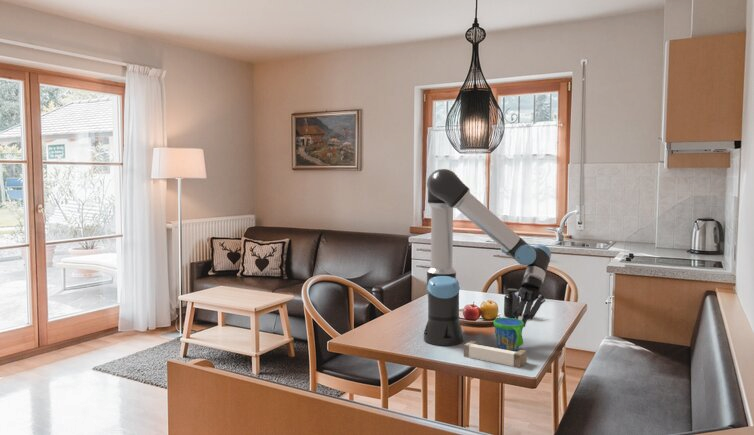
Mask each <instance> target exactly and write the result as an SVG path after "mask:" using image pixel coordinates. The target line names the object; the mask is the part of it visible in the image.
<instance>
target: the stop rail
mask: <svg viewBox="0 0 754 435" xmlns="http://www.w3.org/2000/svg"><path fill="white" fill-rule="evenodd" d="M463 357H466V358H471V359H475V360H479V359H480V360H481V361H484V360H485V362H488V363H489V362H490V363H495V364H500V365H505V366H510V367H515V368H519V369H520V368H521V367H523V366H524V365H525V364H526V363H527V350H525V349H518V350H517V351H509V350H504V349H499V348H498V347H492V346H486V345H480V344H477V341H476V340H475V341H474V340H470V341H468V342H466V343H464V344H463ZM480 360H479V361H480Z"/></svg>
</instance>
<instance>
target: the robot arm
mask: <svg viewBox="0 0 754 435" xmlns="http://www.w3.org/2000/svg"><path fill="white" fill-rule="evenodd" d="M426 186H427V204H428V206H430V207H431V213H430V214H431V220H430V221H431V224H430V226H431V227H430V230H431V231H430V232H431V233H430V236H431V237H430V267H429V268H428V269H427V270H426V285H425V292H426V295H427V317H428V318H427V322H426V326H425V328H424V331H423V341H424V342H426V343H428V344H430V345H431V344H432V345H437V346H456V345H459V344H461V343H463V342H464V340H465V339H464V331H463V329H462V328H463V327H462V326H461V322H460V288H461V287H460V283H459V280H458V279H457V270H456V269H454V268H453V251H454V250H453V247H454V246H453V244H454V242H453V241H454V239H453V238H454V236H453V235H454V234H453V232H454V209H457V210H458V211H460V213H461V214H463V215H464V216H465V217H466V218H467V219H468V220H469V221H471V223H473V224H474V225H475V226H476V227H478V228H479V230H481V231H482V232H483V233H484V234H485V235H486V236H487V237H489V238H490V239H491V240H492V241H493V242H495V243H496V244H497V245H498V246H499V247H500V251H501V252H502V253H503V254H505V255H506V256H508V257H511V258H512V259H513V260H515V261H516V263H517V264H519V265H522V266H526V269H525V272H524V274H523V278H522V281H521V285H520V288H519V289H517V290H518V292H516V293H514V292H512V293H511V294H512V296H513V305H512V313H513V316H514V317H516V318H515V319H519V320H521V321H523V322H524V327H523V328H526V324H527V322H528V320H531V321H532V320H533V319H534V317H535V316H536V314H537V312H538V311H539V309H540V307H541V306H542V304H544V303H545V302H546V298H545V296H544V295H542V294H541V291H542V287H543V283H544V281H545V278H546V273H547V270H548V268H549V264H550V262H551V258H552V257H551V256H552V251H551V250H550V248H549V247H548V246H546V245H543V244H535V245H534V246H532V245H530V244H529V243H528V242H526V241H525V240H524V239H523V238H521V236H520V235H518V234H517V233H516V232H515V231H514V230H513V229H511V228H510V226H508V225H507V224H506V223H505V222H504V221H503V220H501V219H500V218H499V217H498V216H497V215H496V214H494V212H492V211H491V209H489V208H487V206H485V205H484V203H482V202H481V201H480V200H478V198H477V197H475V196H474V195H473V194H472V193H471V189H470V188H469V187H468V186H467V185H466V184H465V183H464V182H463V181H462V180H461V179H460V177H458V175H457V174H456V173H455V172H454V171H452V170H450V169H447V168H442V169H441V168H440V169H436V170H435V171H432V173H431V174H430V175H429V176H428V179H427V183H426ZM518 296H519V297H520V304H519V308H518V311H517V302H518V301H517V299H518Z"/></svg>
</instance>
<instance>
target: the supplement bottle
mask: <svg viewBox="0 0 754 435" xmlns="http://www.w3.org/2000/svg"><path fill="white" fill-rule="evenodd" d="M518 290H519V289H517V288H507V289H506V294H505V295H504V296H503V297H504V299H503V316H504V317H505V318H514V319H516V317H514V316H513V313H512V305H513V296H512V294H511V293H512V292H514V293H516V292H518ZM517 301H518V302H517V311H518V308H519V304H520V301H521V297H520V295H519V296H518V299H517Z"/></svg>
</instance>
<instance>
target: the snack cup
mask: <svg viewBox="0 0 754 435" xmlns="http://www.w3.org/2000/svg"><path fill="white" fill-rule="evenodd" d="M492 322H493V327H494V328H495V329H494V333H495V340H496V345H497V348H498V349H504V350H509V351H515V352H518V351H519V350H520V347H521V346H523V345H524V339H523V329H524V328H525V327H524V322H523V321H521V320H519V319H516V318H510V317H499V318H495V319H494V320H493V321H492Z"/></svg>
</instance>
